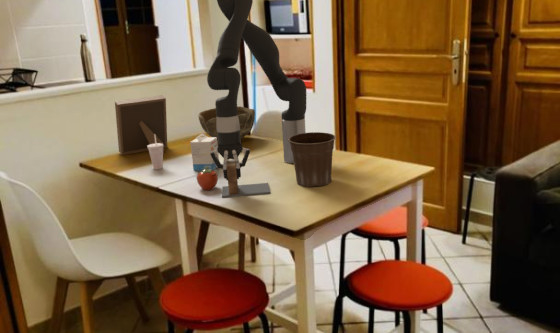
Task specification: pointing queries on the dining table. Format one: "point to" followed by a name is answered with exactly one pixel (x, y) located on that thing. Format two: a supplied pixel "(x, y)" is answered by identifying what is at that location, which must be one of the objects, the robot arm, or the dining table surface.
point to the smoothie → (156, 154)
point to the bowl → (210, 118)
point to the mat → (247, 190)
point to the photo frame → (141, 123)
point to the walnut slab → (232, 177)
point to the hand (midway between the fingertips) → (232, 178)
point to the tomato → (207, 179)
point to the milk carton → (203, 152)
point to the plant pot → (312, 158)
